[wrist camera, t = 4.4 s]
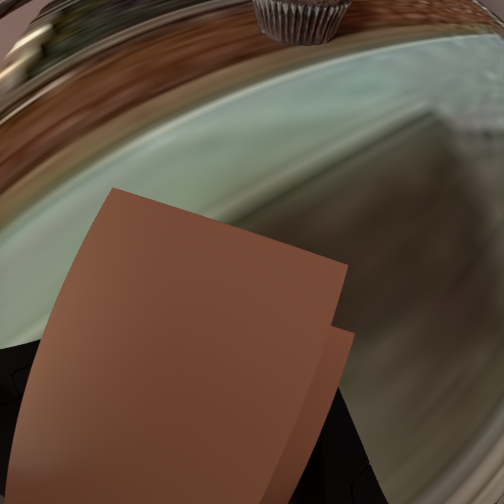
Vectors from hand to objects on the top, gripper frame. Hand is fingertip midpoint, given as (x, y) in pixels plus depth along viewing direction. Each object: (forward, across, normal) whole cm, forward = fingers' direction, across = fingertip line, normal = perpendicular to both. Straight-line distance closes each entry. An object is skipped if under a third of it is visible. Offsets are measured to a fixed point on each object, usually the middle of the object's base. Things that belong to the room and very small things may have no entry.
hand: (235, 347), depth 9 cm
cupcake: (+26, +6, -16) cm, 31 cm away
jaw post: (+4, 0, +6) cm, 7 cm away
